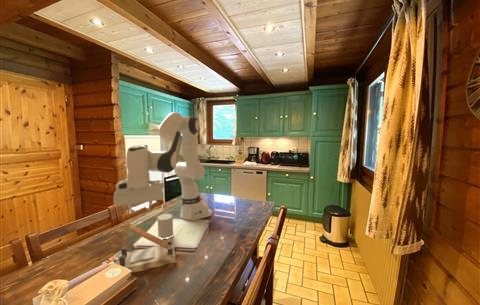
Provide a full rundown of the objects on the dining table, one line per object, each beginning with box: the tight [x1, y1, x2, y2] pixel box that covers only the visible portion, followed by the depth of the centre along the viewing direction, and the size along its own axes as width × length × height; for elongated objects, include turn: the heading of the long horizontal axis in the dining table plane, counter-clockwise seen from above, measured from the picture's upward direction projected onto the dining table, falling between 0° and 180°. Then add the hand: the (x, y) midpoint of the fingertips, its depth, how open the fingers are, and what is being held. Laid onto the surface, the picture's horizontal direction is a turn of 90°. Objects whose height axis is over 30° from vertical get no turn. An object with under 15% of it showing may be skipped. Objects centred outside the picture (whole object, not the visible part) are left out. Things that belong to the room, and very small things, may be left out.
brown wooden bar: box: [129, 224, 172, 249], centre depth 93 cm, size 22×4×2 cm
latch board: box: [117, 239, 176, 274], centre depth 93 cm, size 24×12×7 cm, turn 113°
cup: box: [157, 213, 174, 238], centre depth 115 cm, size 8×8×12 cm
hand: (140, 211), depth 90 cm, fingers open, 5 cm apart
